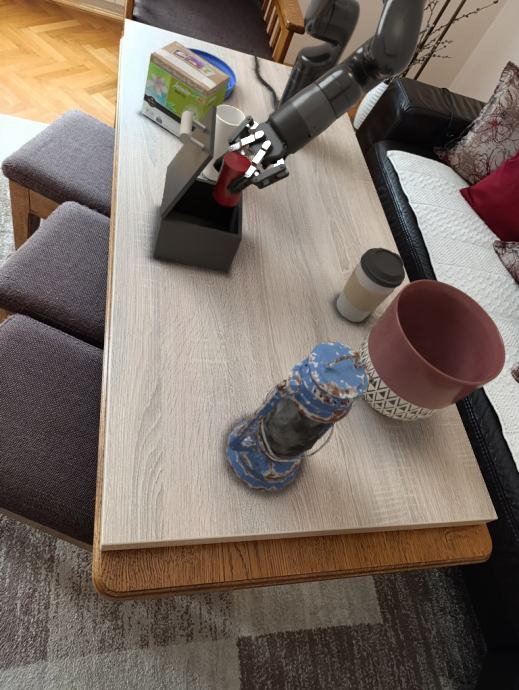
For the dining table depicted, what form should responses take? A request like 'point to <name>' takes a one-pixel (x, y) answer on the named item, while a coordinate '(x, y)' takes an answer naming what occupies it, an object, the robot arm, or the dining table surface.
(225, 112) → the white vase
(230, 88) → the bowl
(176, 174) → the box lid
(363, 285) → the coffee cup
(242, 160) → the red cup
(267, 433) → the lantern
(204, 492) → the dining table surface
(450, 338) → the planter
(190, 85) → the tea box
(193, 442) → the dining table surface
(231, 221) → the dark box
